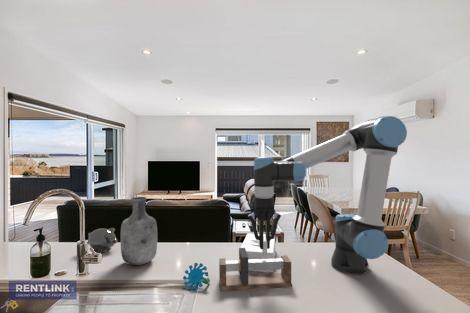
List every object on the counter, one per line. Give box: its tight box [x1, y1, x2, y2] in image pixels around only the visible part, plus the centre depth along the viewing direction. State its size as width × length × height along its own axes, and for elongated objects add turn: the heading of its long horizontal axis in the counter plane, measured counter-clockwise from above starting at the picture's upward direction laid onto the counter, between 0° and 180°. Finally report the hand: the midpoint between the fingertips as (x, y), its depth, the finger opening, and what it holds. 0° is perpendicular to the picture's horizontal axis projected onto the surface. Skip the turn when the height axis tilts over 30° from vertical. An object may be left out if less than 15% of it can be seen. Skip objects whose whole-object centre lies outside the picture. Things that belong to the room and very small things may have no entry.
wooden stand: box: [218, 255, 293, 292], centre depth 104 cm, size 27×10×9 cm, turn 95°
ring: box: [238, 247, 249, 284], centre depth 104 cm, size 2×10×10 cm, turn 5°
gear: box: [182, 262, 211, 291], centre depth 103 cm, size 11×6×10 cm
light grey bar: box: [226, 257, 284, 273], centre depth 104 cm, size 25×3×3 cm, turn 95°
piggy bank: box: [87, 227, 119, 254], centre depth 138 cm, size 11×15×12 cm
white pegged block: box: [240, 231, 276, 273], centre depth 126 cm, size 14×25×11 cm, turn 169°
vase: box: [119, 196, 158, 266], centre depth 123 cm, size 16×16×30 cm
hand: (264, 256), depth 104 cm, fingers closed
